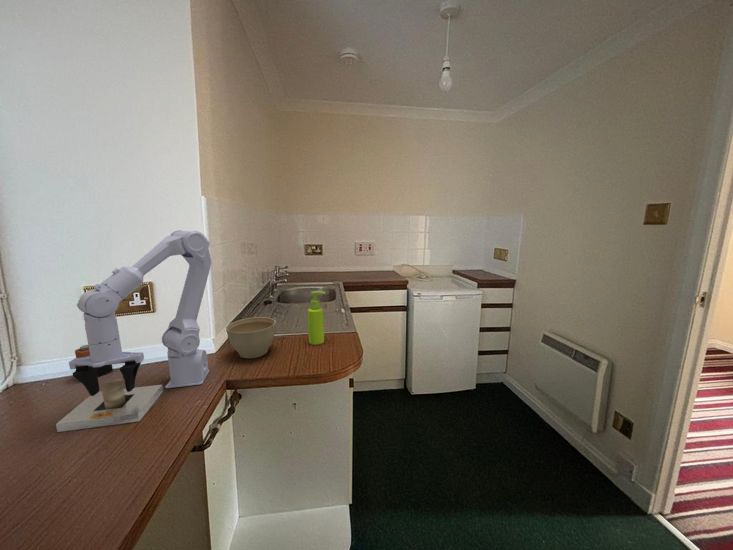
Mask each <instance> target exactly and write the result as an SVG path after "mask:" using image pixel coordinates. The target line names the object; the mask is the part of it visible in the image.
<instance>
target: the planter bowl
mask: <svg viewBox="0 0 733 550" xmlns="http://www.w3.org/2000/svg"><path fill="white" fill-rule="evenodd" d="M276 323H277V322H276V320H275V319H274V318H271V317H266V316H264V317H263V316H256V317H248V318H243V319H239V320H236V321H234V322H231V323H229V324H228V325H227V326H226V327H225V328H226V332H227V336H228V337H227V338H228V340H229V342H230V345H231V346H232V347H233V349H234V350H235V351H236V352H237V353H238V355H239V357H240V358H242V359H256V358H259V357H262V356H264V355H266V354H267V353H268V351H269V348H270V346H271V345H272V343H273V340H274V338H275V334H276V333H275V332H276Z"/></svg>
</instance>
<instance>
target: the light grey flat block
mask: <svg viewBox="0 0 733 550" xmlns="http://www.w3.org/2000/svg"><path fill="white" fill-rule="evenodd" d="M124 393H125V400H126V404H125V405H124V406H123V407H122V408H116V409H108V410H105V405H104V399H103V394H102V390H101V391H100V390H99V392H98V393H97V394H95V395H94V396H91V395H90V394H89V396H88V397H87V398H85V399H84V400H83V401H82V402H80V403H79V404H78V405H77V406H76V407H74V408H73V409H72V410H71V411H69V413H67V414H66V415H65V416H64V417H63V418H61V419H60V420H59V421H58V422H57V423H56V424H55V426H56V431H57V433H61V432H63V433H64V432H71V431H76V430H77V431H78V430H83V429H92V428H99V427H107V426H115V425H123V424H129V423H130V424H131V423H137V422H140V421H141V420H142V419H143V417H145V415H146V414H147V412H148V411H149V410H150V408H151V407H153V405H154V404H155V402H156V401H157V400H158V399H159V397H160V396H161V394H162V393H164V386H163V384H156V385H149V386H148V385H147V386H139V387H138V386H135V388H134V389H133V390H132V391H130V392H127V390H126V388H124Z"/></svg>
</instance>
